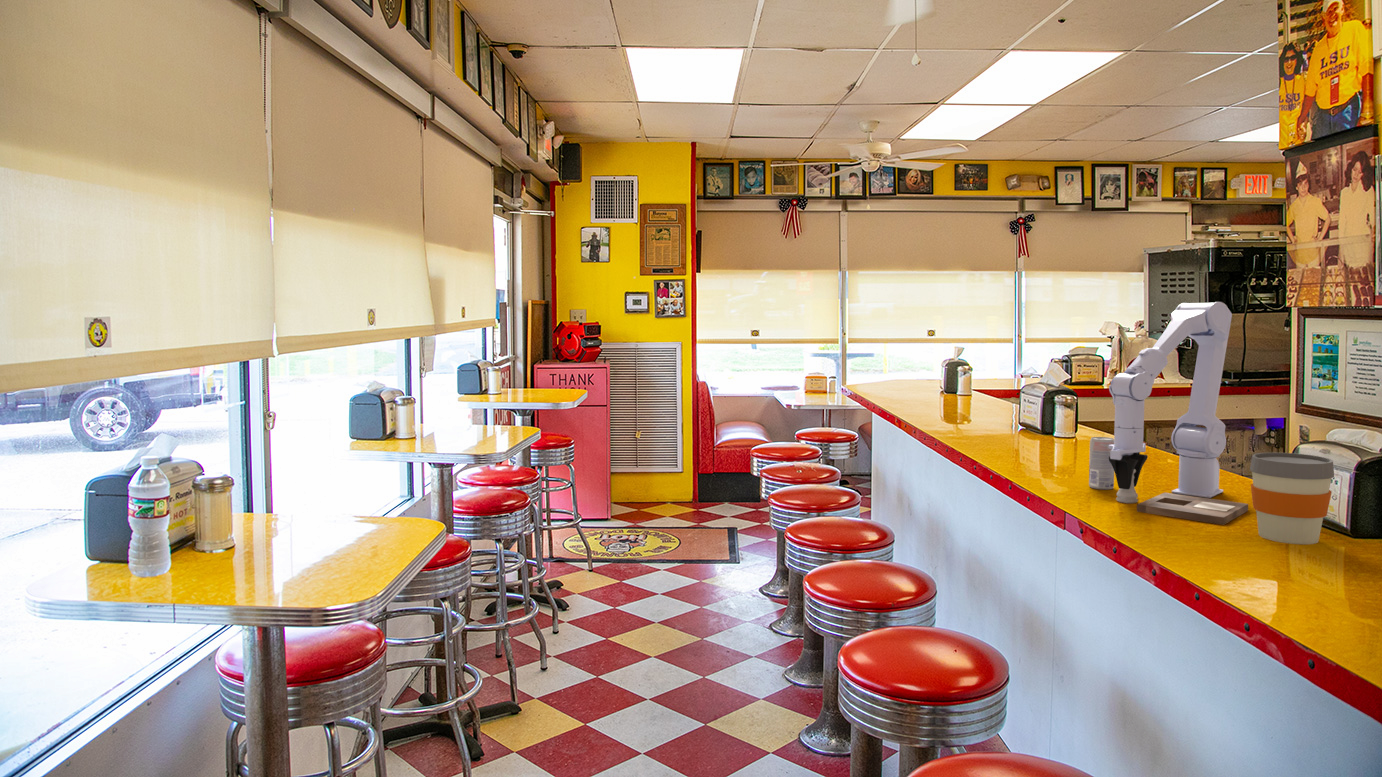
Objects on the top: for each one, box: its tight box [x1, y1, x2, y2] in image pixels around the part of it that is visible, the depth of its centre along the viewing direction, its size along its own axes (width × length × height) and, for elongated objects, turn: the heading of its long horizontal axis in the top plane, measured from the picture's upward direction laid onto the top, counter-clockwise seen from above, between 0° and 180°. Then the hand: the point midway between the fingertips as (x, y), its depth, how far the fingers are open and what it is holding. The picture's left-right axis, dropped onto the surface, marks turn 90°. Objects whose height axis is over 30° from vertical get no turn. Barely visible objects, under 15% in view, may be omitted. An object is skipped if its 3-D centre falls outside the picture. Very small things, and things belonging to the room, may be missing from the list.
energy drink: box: [1088, 436, 1115, 491], centre depth 195 cm, size 5×5×12 cm
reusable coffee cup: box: [1249, 452, 1335, 545], centre depth 150 cm, size 13×13×15 cm
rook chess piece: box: [1115, 469, 1139, 504], centre depth 180 cm, size 4×4×8 cm
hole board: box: [1136, 492, 1249, 526], centre depth 171 cm, size 16×16×2 cm
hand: (1127, 487), depth 180 cm, fingers closed on rook chess piece, 3 cm apart
